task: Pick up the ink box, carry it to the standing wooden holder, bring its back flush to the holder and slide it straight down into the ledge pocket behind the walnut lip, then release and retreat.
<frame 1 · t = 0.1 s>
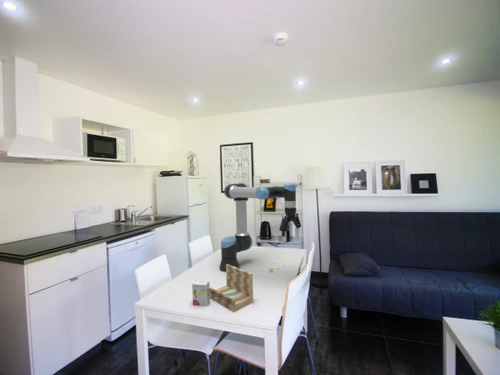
hand: (290, 239, 162), 28 cm above the table, fingers open, 13 cm apart
wooden holder: (231, 299, 141), on the table
ink box: (201, 303, 138), on the table
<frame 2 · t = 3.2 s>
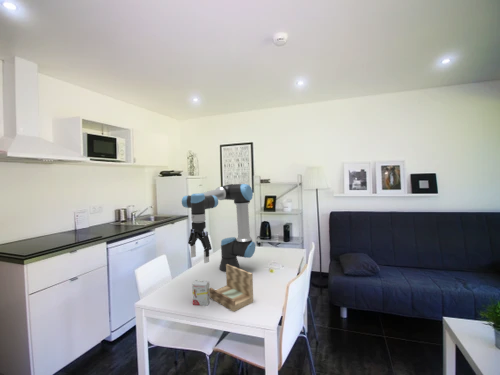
hand: (199, 259, 137), 25 cm above the table, fingers open, 13 cm apart
nothing on the table moved.
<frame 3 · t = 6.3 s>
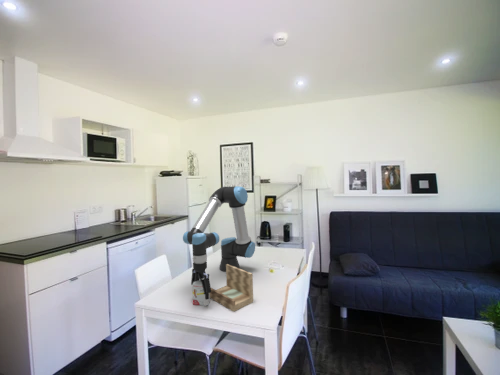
hand: (201, 301, 138), 1 cm above the table, fingers closed on ink box, 9 cm apart
ink box: (201, 303, 138), on the table, touching gripper
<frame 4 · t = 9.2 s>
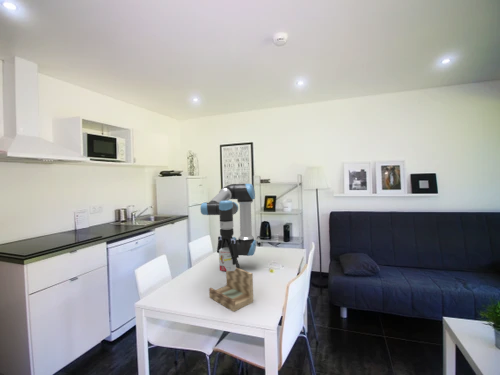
hand: (227, 267, 139), 19 cm above the table, fingers closed on ink box, 9 cm apart
ink box: (227, 269, 139), point 18 cm above the table, touching gripper
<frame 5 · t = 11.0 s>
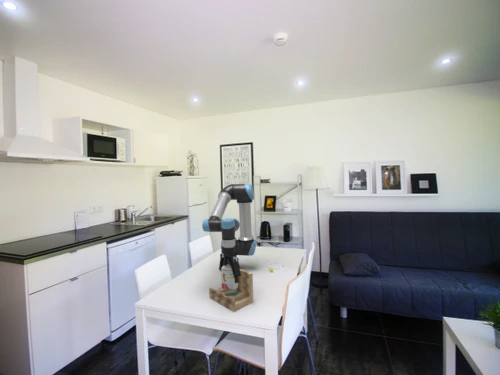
hand: (229, 285, 141), 8 cm above the table, fingers closed on ink box, 9 cm apart
ink box: (229, 287, 141), point 7 cm above the table, touching gripper
when the fingers open (5 cm above the table, at t = 12.4 s): ink box drops 1 cm, resting on wooden holder.
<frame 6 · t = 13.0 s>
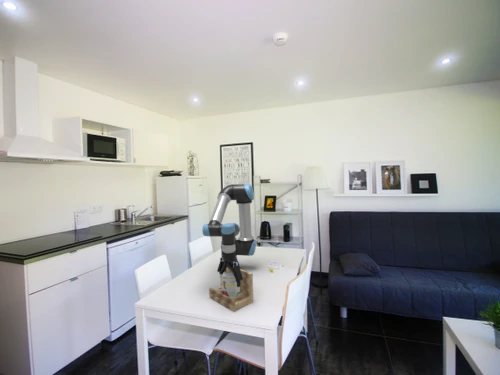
hand: (230, 288, 141), 7 cm above the table, fingers open, 13 cm apart
ink box: (230, 294, 141), point 3 cm above the table, touching wooden holder
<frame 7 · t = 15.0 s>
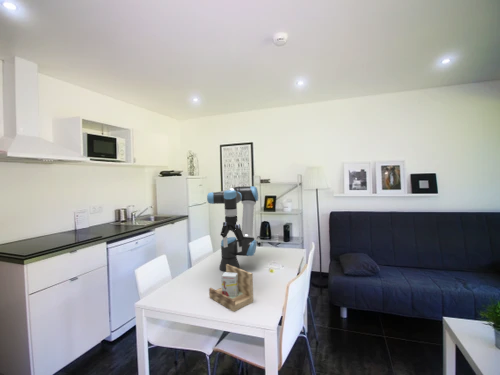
hand: (232, 249, 154), 25 cm above the table, fingers open, 13 cm apart
nothing on the table moved.
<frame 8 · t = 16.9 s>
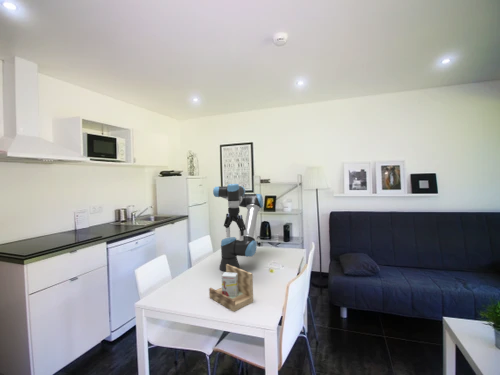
hand: (234, 238, 165), 29 cm above the table, fingers open, 13 cm apart
nothing on the table moved.
at the end: ink box inside the target area on the wooden holder (0.2 cm from its centre), point 2.9 cm above the wooden holder's base; ink box tilted 0°; the gripper is holding nothing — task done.
